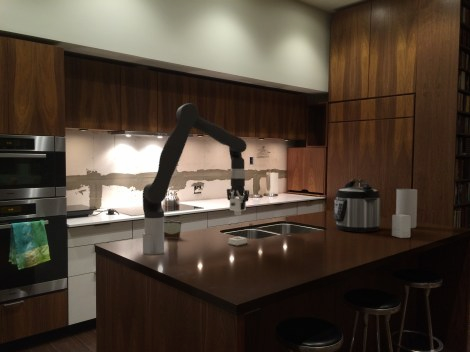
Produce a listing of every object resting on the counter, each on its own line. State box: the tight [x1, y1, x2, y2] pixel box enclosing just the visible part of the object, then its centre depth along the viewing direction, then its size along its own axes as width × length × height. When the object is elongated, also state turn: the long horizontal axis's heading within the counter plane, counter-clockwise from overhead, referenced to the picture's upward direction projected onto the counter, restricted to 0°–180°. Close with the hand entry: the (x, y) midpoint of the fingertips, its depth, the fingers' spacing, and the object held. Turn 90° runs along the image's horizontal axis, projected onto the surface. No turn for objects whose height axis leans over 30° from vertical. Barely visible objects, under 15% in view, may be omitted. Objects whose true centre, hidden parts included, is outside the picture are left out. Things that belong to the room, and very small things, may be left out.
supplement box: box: [391, 214, 412, 239], centre depth 228 cm, size 7×7×13 cm
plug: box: [229, 197, 247, 216], centre depth 205 cm, size 8×6×8 cm
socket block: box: [228, 236, 248, 247], centre depth 206 cm, size 8×6×3 cm
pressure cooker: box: [333, 179, 381, 233], centre depth 250 cm, size 30×28×32 cm
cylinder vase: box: [395, 188, 418, 229], centre depth 259 cm, size 12×12×25 cm
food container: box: [164, 218, 183, 239], centre depth 224 cm, size 12×6×10 cm, turn 84°
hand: (237, 209), depth 206 cm, fingers closed on plug, 6 cm apart
